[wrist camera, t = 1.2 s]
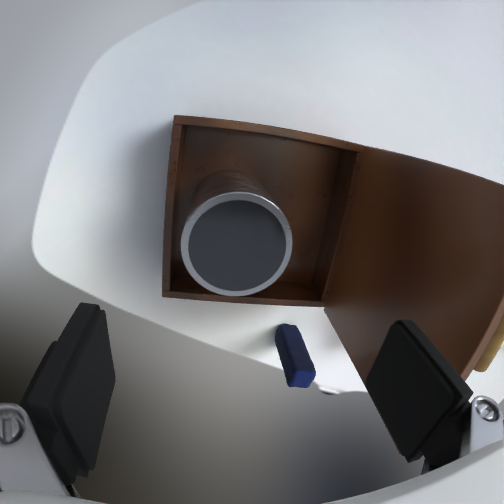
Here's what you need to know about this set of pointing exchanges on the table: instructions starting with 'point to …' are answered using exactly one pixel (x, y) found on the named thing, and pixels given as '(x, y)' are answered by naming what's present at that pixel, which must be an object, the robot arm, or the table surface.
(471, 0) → the table surface
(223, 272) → the steel cup
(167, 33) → the table surface
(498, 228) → the lid
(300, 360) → the eraser
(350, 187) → the storage box
